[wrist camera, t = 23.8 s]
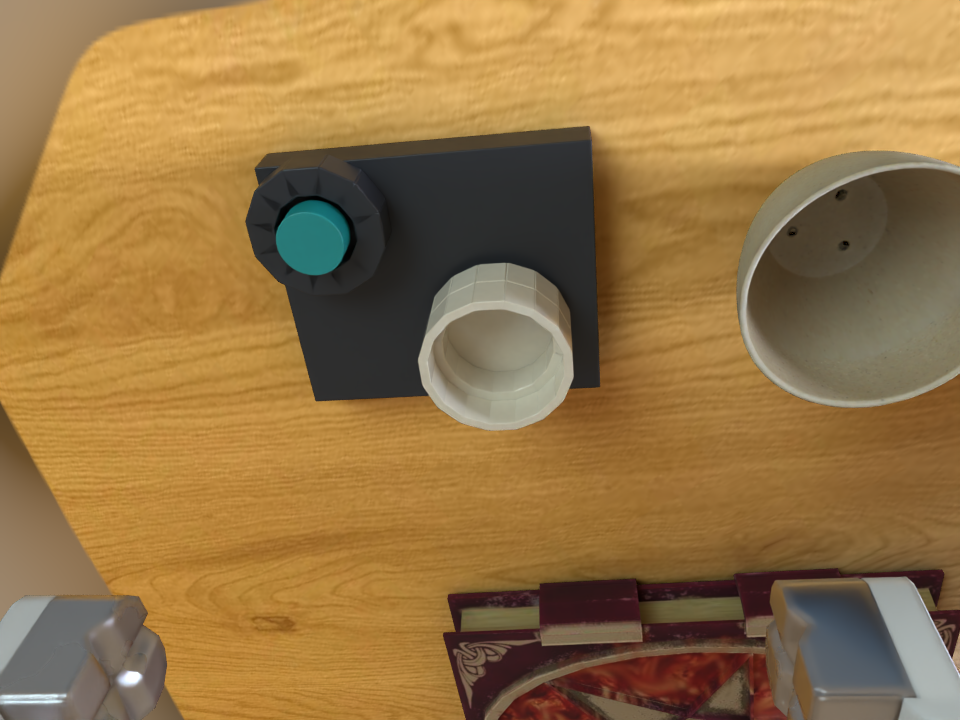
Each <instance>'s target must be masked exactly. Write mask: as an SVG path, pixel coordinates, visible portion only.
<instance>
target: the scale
mask: <svg viewBox="0 0 960 720" xmlns="http://www.w3.org/2000/svg"><path fill="white" fill-rule="evenodd" d="M255 172H256V176H257V180H258V184H259V186H258V188H257V189H256V190H255V191H254V194H253V198H252V201H251V204H250V208H249V211H248V214H247V217H246V221H245V222H246V226H247V230H248V233H249V237H250V241H251V244H252V248H253V251H254V254H255V257H256V258H257V259H258V260H259V261H260V262H261V264H262V265H263V266H264V267H265V268H266V269H267V270H268V271H269V272H270V273H271V274H272V275H273V276H274V278H275V279H276V280H277V281H278V282H280V283H282V284H284V285H285V286H286V290H287V294H288V298H289V302H290V305H291V309H292V313H293V317H294V321H295V325H296V328H297V332H298V336H299V340H300V344H301V347H302V351H303V355H304V359H305V363H306V366H307V370H308V374H309V378H310V382H311V385H312V389H313V393H314V397H315V400H316V401H332V400H352V399H373V398H393V397H413V396H429V394H428V393H427V392H426V390H425V389H424V387H423V385H422V381H421V375H420V370H419V364H418V357H419V353H420V349H421V345H422V341H423V337H424V333H425V328H426V324H427V320H428V317H429V313H430V310H431V307H432V303H433V300H434V297H435V296H436V294H437V293H438V292H439V291H440V290H441V288H442V287H443V286H444V285H445V284H446V283H447V282H448V281H449V280H450V278H452V277H453V276H454V275H457V274H459V273H461V272H463V271H465V270H467V269H469V268H472V267H474V266H476V265H480V264H493V263H511V264H515V265H518V266H521V267H525V268H528V269H531V270H534V271H537V272H538V273H539V274H540V275H542V276H543V277H544V278H546V279H547V280H548V281H549V282H551V283H552V284H553V285H555V286H556V287H557V289H558V290H559V291H560V293H561V295H562V297H563V299H564V300H565V302H566V304H567V306H568V308H569V310H570V315H571V334H572V352H573V371H574V377H573V381H572V383H571V385H570V387H569V389H575V388H595V387H600V367H599V338H598V308H597V279H596V249H595V220H594V191H593V161H592V139H591V132H590V127H589V126H585V127H573V128H562V129H550V130H538V131H527V132H515V133H503V134H492V135H480V136H468V137H457V138H445V139H433V140H422V141H410V142H398V143H387V144H375V145H363V146H352V147H340V148H328V149H317V150H305V151H293V152H282V153H270V154H267V155H266V156H265V157H264V158H263V159H262V160H261V162H260V163H259V164H258V165H257V166H256V167H255ZM307 200H318V201H323V202H326V203H328V204H330V205H332V206H334V207H335V208H337V209H338V210H339V211H340V212H341V213H342V214H343V216H344V217H345V218H346V220H347V222H348V224H349V228H350V233H351V238H350V243H349V246H348V248H347V250H346V252H345V254H344V256H343V258H342V261H341V262H340V264H339V265H338V266H337V267H336V268H335V269H334V270H332V271H330V272H328V273H326V274H322V275H307V274H303V273H301V272H298V271H296V270H295V269H293V268H291V267H290V266H289V265H288V264H287V263H286V262H285V261H284V260H283V259H282V257H281V255H280V253H279V251H278V249H277V245H276V233H277V230H278V227H279V225H280V224H281V222H282V221H283V219H284V218H285V216H286V215H287V213H288V212H289V211H290V209H291V208H292V207H294V206H295V205H296V204H298V203H300V202H303V201H307Z"/></svg>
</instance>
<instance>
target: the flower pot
mask: <svg viewBox="0 0 960 720" xmlns="http://www.w3.org/2000/svg"><path fill="white" fill-rule="evenodd" d="M838 191H840V193H839V195H838V196H837V197H836V194H837V192H838ZM791 232H795V233H796V234H794V235H792V236H790V235H789V233H791ZM843 241H847V242H848V244H849V245H844V244H843ZM737 311H738V319H739V324H740V329H741V334H742V337H743V341H744V343H745V346H746V349H747V351H748V353H749V354H750V356H751V358H752V360H753V362H754V363H755V364H756V366H757V367H758V368H759V369H760V371H761V372H762V373H763V374H764V375H765V376H766V377H767V378H768V379H769V380H770V381H772V382H773V383H774V384H776V385H777V386H778V387H780V388H781V389H783V390H785V391H786V392H788V393H790V394H792V395H794V396H796V397H798V398H801V399H804V400H806V401H809V402H813V403H817V404H821V405H826V406H832V407H842V408H862V407H875V406H881V405H886V404H891V403H895V402H899V401H902V400H906V399H910V398H913V397H915V396H918V395H921V394H923V393H925V392H928V391H930V390H932V389H934V388H937V387H939V386H941V385H942V384H944V383H946V382H947V381H949V380H951V379H953V378H954V377H956V376H957V375H958V374H960V167H959V166H956V165H953V164H950V163H947V162H944V161H941V160H937V159H934V158H930V157H926V156H921V155H916V154H911V153H904V152H895V151H860V152H852V153H846V154H841V155H836V156H832V157H829V158H826V159H823V160H820V161H818V162H815V163H813V164H811V165H809V166H807V167H805V168H803V169H801V170H799V171H798V172H796V173H795V174H793V175H792V176H790V177H789V178H788V179H786V180H785V181H784V182H783V183H782V184H780V185H779V186H778V187H777V188H776V189H775V190H774V191H773V192H772V193H771V195H770V196H769V197H768V198H767V199H766V201H765V202H764V203H763V205H762V206H761V208H760V209H759V211H758V213H757V214H756V216H755V218H754V220H753V221H752V224H751V226H750V228H749V230H748V233H747V235H746V238H745V241H744V244H743V248H742V252H741V256H740V260H739V267H738V275H737Z"/></svg>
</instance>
